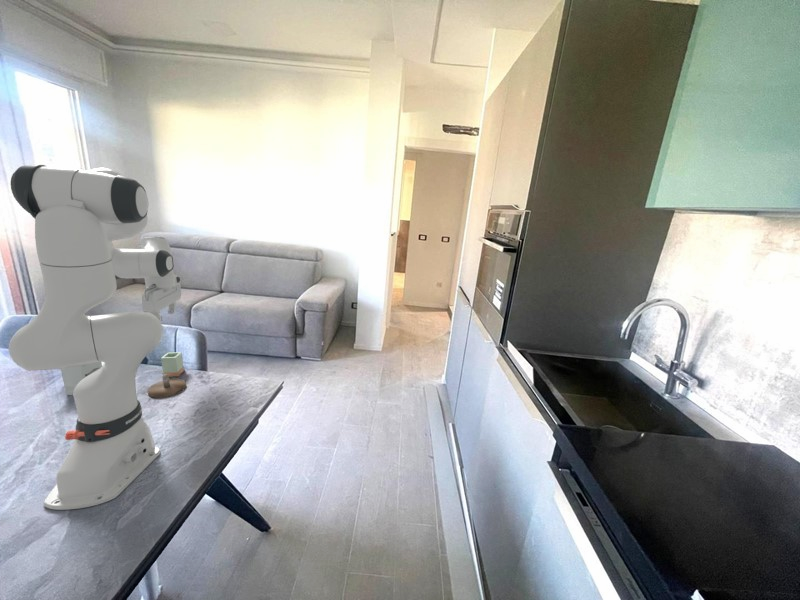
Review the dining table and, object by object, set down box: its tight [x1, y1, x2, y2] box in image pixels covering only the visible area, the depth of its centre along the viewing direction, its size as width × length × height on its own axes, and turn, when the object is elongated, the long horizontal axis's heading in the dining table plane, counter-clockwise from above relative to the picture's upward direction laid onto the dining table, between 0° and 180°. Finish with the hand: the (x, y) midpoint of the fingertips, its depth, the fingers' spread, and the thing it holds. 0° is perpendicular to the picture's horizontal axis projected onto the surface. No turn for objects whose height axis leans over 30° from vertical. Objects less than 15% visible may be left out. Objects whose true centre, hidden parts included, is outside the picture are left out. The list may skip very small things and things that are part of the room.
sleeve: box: [160, 351, 185, 378], centre depth 124 cm, size 5×5×8 cm
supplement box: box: [60, 362, 103, 396], centre depth 110 cm, size 7×7×13 cm
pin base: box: [147, 374, 186, 399], centre depth 114 cm, size 11×11×6 cm
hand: (165, 317), depth 119 cm, fingers open, 8 cm apart
